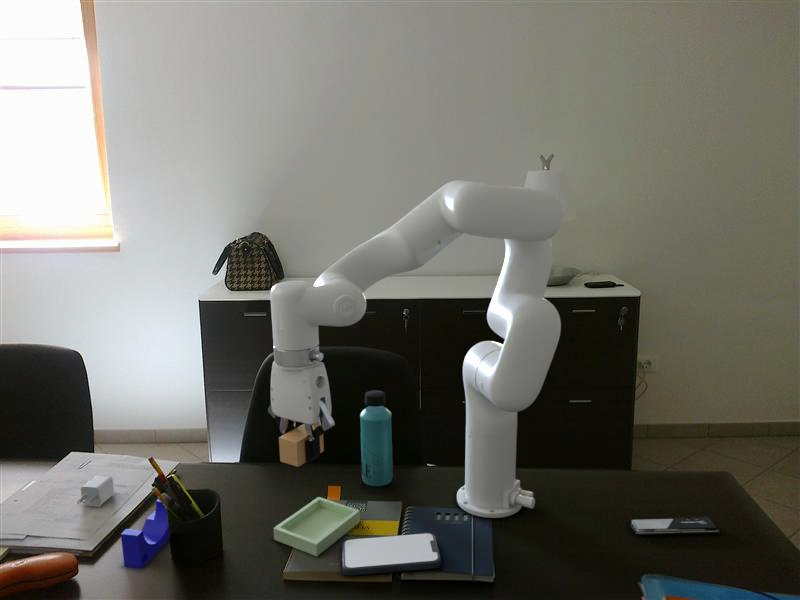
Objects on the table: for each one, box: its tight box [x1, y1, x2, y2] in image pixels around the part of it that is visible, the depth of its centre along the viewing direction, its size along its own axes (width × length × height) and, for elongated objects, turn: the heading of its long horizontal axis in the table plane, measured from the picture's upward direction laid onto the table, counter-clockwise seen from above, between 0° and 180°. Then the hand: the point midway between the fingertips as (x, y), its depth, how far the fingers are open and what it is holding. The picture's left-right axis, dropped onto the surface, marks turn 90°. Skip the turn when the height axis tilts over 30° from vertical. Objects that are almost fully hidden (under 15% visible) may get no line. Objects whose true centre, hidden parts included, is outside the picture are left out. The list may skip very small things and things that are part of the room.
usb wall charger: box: [76, 475, 115, 507], centre depth 131 cm, size 4×7×4 cm, turn 170°
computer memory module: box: [629, 516, 721, 536], centre depth 120 cm, size 15×1×4 cm
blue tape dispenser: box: [120, 498, 171, 570], centre depth 116 cm, size 12×4×6 cm, turn 169°
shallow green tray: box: [273, 496, 361, 557], centre depth 121 cm, size 10×13×2 cm
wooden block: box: [278, 423, 325, 468], centre depth 117 cm, size 4×7×4 cm, turn 148°
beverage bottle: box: [359, 389, 394, 487], centre depth 135 cm, size 6×7×20 cm
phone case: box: [341, 532, 442, 577], centre depth 113 cm, size 9×2×16 cm
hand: (302, 454), depth 118 cm, fingers closed on wooden block, 4 cm apart
